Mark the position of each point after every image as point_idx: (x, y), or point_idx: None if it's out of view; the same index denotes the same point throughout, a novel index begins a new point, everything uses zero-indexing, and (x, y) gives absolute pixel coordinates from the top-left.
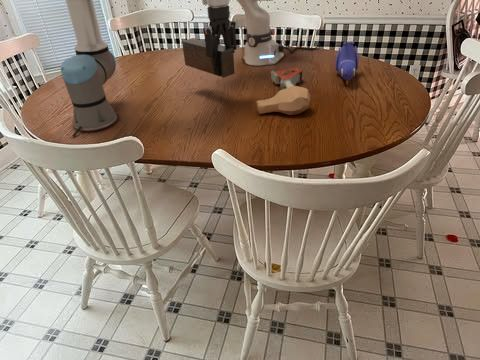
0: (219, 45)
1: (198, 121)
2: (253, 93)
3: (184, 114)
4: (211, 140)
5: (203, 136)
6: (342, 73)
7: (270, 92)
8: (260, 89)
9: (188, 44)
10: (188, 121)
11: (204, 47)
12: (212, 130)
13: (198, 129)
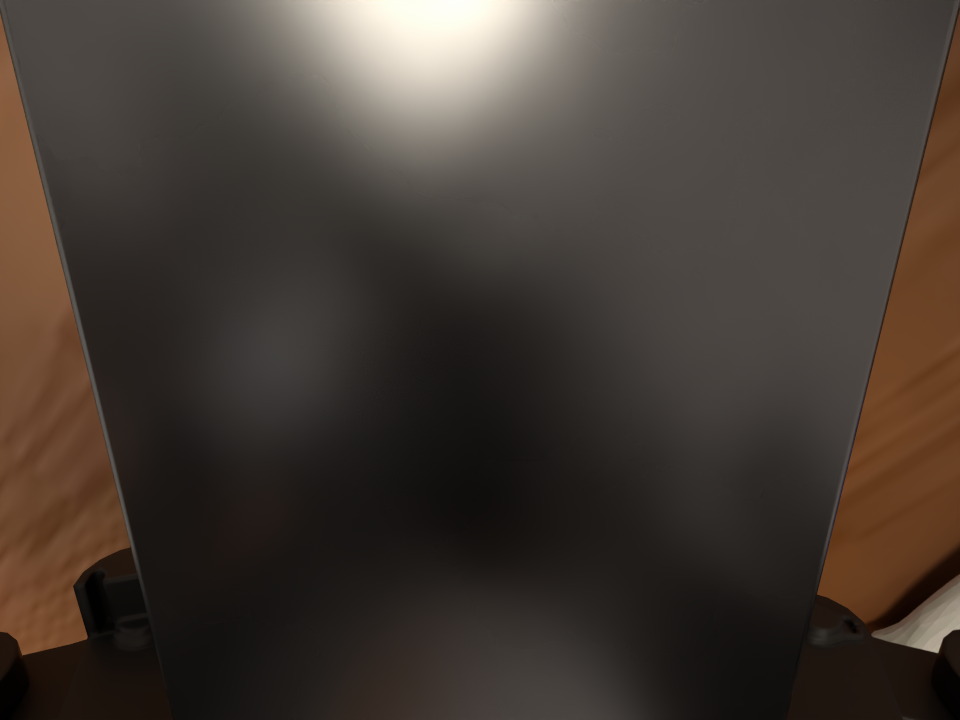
0: (715, 597)
1: (80, 386)
2: None
3: (34, 178)
4: (28, 637)
5: (6, 572)
6: None
7: (896, 441)
8: (922, 326)
9: None
10: (8, 323)
11: (55, 203)
12: (99, 558)
13: (20, 481)
